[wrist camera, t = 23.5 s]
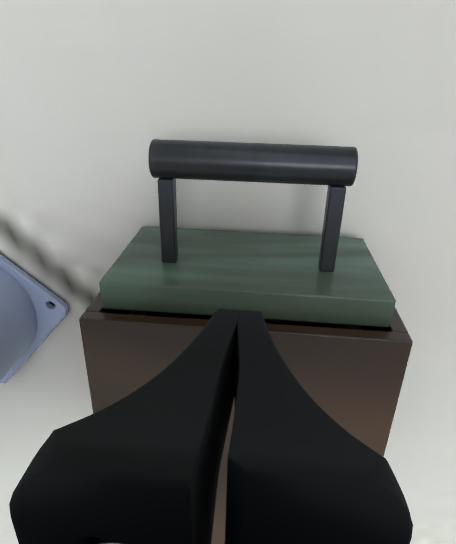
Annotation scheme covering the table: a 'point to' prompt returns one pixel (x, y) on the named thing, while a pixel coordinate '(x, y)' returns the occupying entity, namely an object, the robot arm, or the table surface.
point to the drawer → (250, 246)
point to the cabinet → (292, 347)
